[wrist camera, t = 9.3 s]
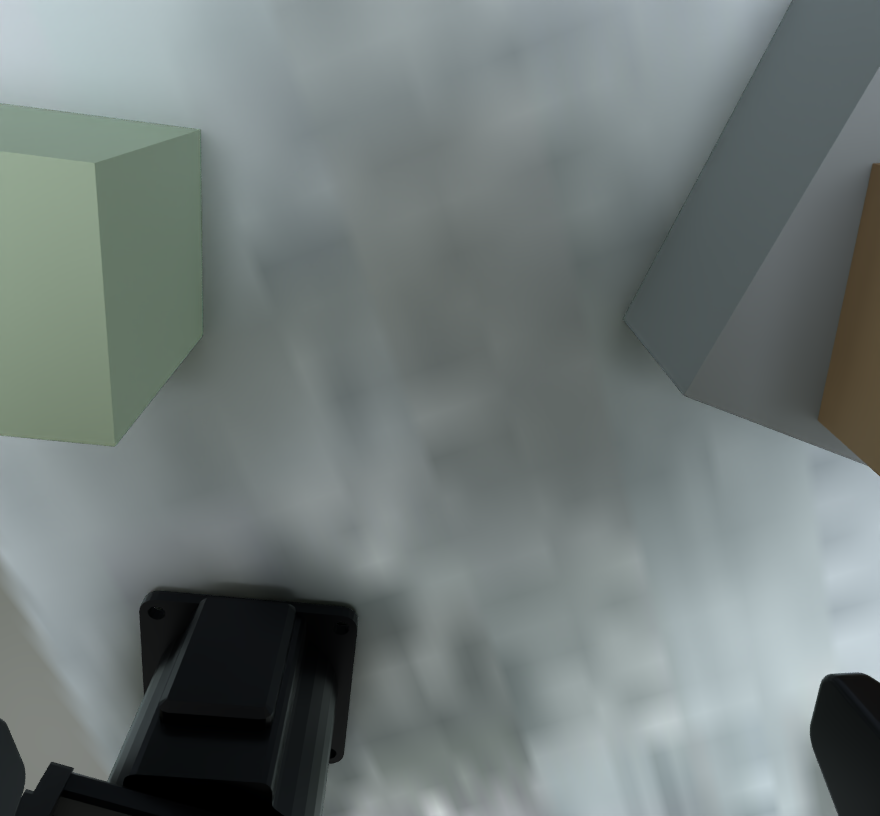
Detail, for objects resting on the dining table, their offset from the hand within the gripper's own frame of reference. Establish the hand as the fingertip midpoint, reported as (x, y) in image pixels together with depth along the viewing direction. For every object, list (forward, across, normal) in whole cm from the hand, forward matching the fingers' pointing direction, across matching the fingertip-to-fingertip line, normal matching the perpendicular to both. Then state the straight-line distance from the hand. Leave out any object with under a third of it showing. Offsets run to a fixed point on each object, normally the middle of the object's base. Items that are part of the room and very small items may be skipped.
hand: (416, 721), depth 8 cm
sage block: (+12, +8, -3) cm, 15 cm away
